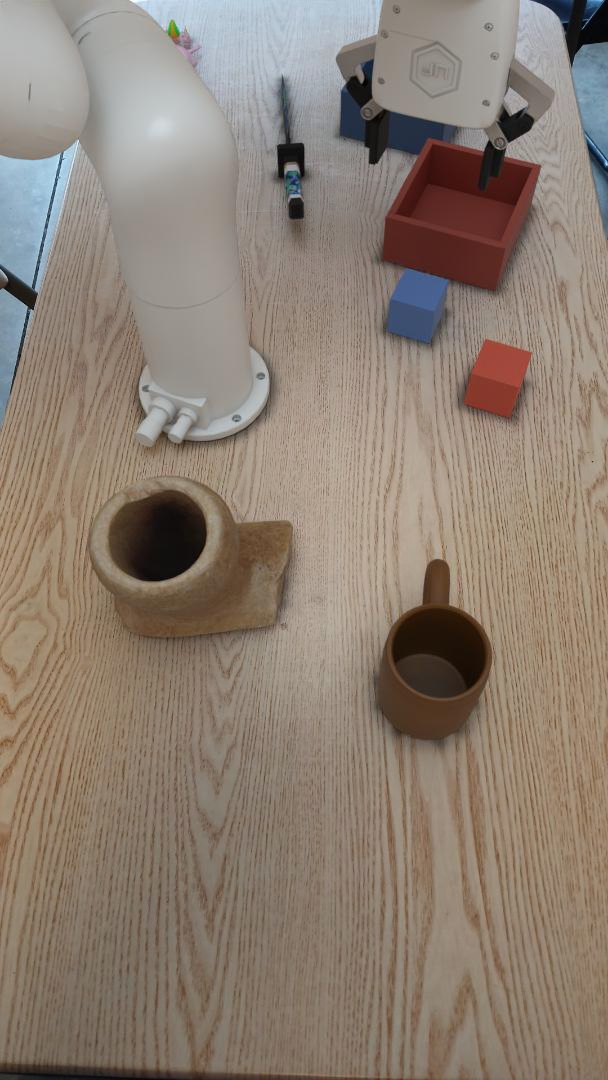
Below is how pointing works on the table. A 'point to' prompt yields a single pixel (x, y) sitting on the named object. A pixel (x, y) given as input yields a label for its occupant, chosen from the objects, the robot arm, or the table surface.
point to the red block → (497, 378)
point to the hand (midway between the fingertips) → (431, 167)
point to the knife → (291, 168)
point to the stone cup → (187, 560)
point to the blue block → (417, 305)
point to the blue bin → (391, 124)
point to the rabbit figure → (182, 42)
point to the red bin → (458, 215)
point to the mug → (433, 663)
